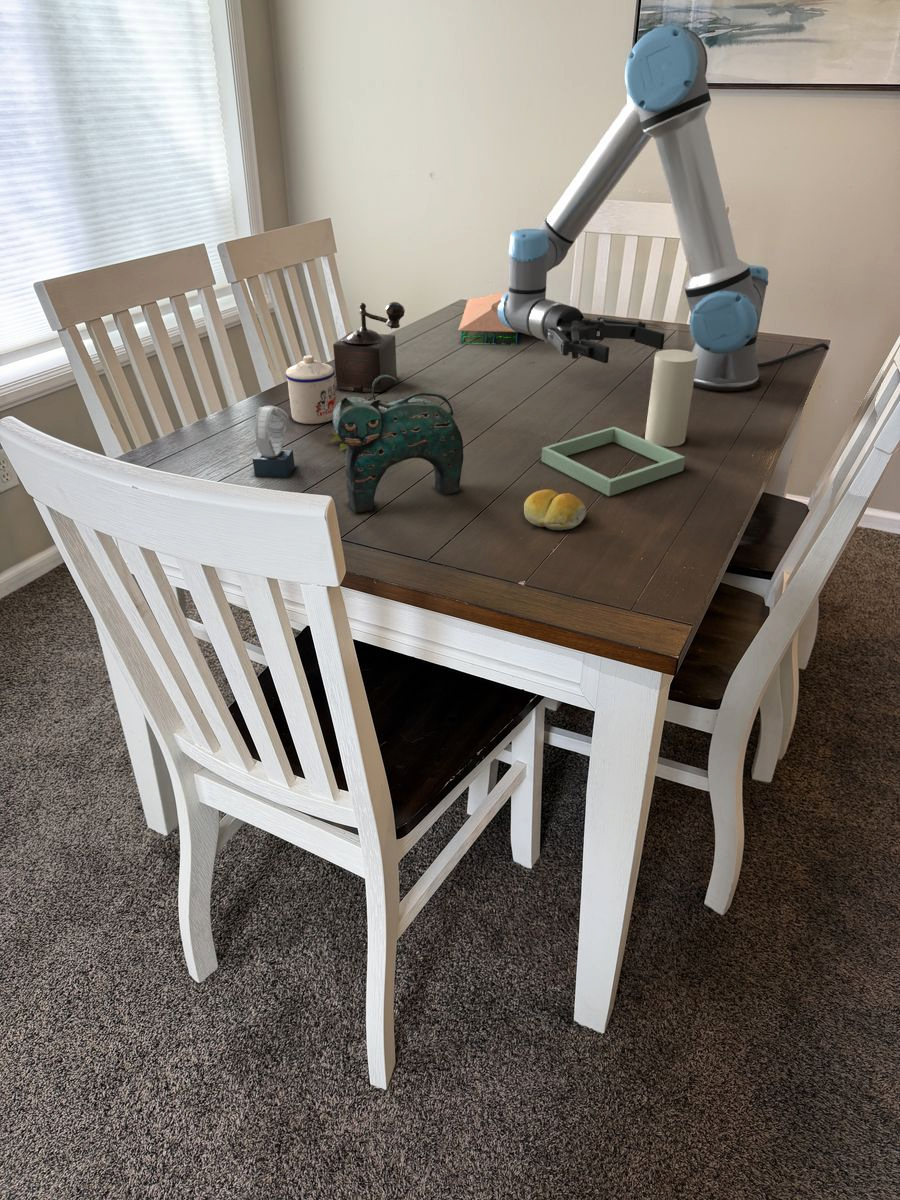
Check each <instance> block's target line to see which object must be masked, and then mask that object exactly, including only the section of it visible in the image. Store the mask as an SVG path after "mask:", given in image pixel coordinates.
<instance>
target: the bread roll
mask: <svg viewBox="0 0 900 1200" xmlns="http://www.w3.org/2000/svg"><path fill="white" fill-rule="evenodd" d="M523 512H524V513H523V514H524V517H525V519H526V520H527V522H529V523H530V524H532V525H534V526H536V527H539V528H544V527H545V528H546V529H548V530H552V531H563V530H564V531H565V530H571V529H574V528H576V527H577V526H579V525H580V524H581V523H582V522H583V520H584V519H585V517H586V516H587V515H586V514H587V508H586V506H585V504H584V502H583V501H582V499H580V498H579V497H577V496H576V495H575V494H572V493H569V492H567V493H566V492H565V493H564V492H563V493H561V494H560V493H558V492H557V491H555V490H553V489H541V490H537V491H535V492H533V493H531V494H530V495H529V496H527V498H526V499H525V501H524V504H523Z"/></svg>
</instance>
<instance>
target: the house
mask: <svg viewBox="0 0 900 1200" xmlns="http://www.w3.org/2000/svg"><path fill="white" fill-rule="evenodd" d="M507 292H508V291H505V292H499V293H493V294H489V295H484V296H480V297H474V298H469V299H467V301H466V305H465V308H464V311H463V314H462V317H461V320H460V324H459V327H458V330H457V332H461V344H464V340H465V338H466V334H467V332H471V339H472V342H471V343H470V342H466V344H469V345H470V344H473V345H475V344H476V345H477V344H478V345H481V344H482V345H489V342H488V343H487V339H488V338H492V345H495V343H494V342H495V338H498V335H496V333H503V336H502V335H500V336H499V339H501V338H503V341H502V342H503V343H502V345H505V343H504V341H505V338H506V339H511V338H512V339H515V342H513V343H512V345H517V343H518V334H519V332H517V331H514V330H513V329H511V328H509V327H507V326H505V325H504V324H503V323H502V322H501V321H500V319H499V316H498V305H499V304H500V301H501V298H502V297H503V295H504V294H505V293H507ZM551 300H552V299H551ZM552 301H554V299H553V300H552ZM474 332H476V335H474ZM479 332H484V335H479ZM488 333H492V335H488ZM506 333H510V336H505V335H506ZM512 333H513V335H515V336H512ZM467 338H470V335H467ZM474 338H484V340H482V342H474ZM483 341H484V342H483Z"/></svg>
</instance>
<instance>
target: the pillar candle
mask: <svg viewBox="0 0 900 1200" xmlns="http://www.w3.org/2000/svg"><path fill="white" fill-rule="evenodd" d="M697 358H698V356H697V355H696V354H695V353H692V351H689V350H683V349H661V350H660V351H659V350H658V351H657V352H655V354H654V360H653V361H654V362H653V368H652V369H653V370H652V377H651V385H650V393H649V402H648V409H647V418H646V424H645V425H646V426H645V435H644V439H645V440H647V441H650V442H652V443H654V444H657V445H659V446H661V447H664V448H667V447H671V448H672V447H679V446H681V445H683V444H684V443H685V441H686V437H687V430H688V424H689V417H690V409H691V403H692V397H693V390H694V386H693V385H694V378H695V371H696V365H697Z"/></svg>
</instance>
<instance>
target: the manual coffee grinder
mask: <svg viewBox="0 0 900 1200" xmlns="http://www.w3.org/2000/svg"><path fill="white" fill-rule="evenodd" d="M366 308H367V304H366V303H364V302H361V303H360V304H359V309H360V310H359V312H358V313H359V314H360V321H361V327H360V329H357V330H355V331H351V332H349V333H347V334H346V335H344V336H343V337H342V338H340V339H338V340H337V341H336V342H334V343H333V345H332V347H333V359H334V369H335V370H334V372H335V380H336V382H335V383H336V390H339V391H348V392H349V391H350V392H360V393H372V385H373V382H374V380H375V379H376V378H378V377H379V376H382V375H389V376H392V377H393V378H395V379H396V380H397V378H398V371H397V349H396V345H397V344H396V335H395V334H385V333H378V332H377V331H375V330H372V329H369V328H367V318H369V319H371V320H374V321H378V322H382V323H385V324H386V325H385V326H386V327H389V328H390V329H391V330H393V329H399V328H400V327H401V325H400V320H401V319H402V318H403V317H404V316H405V312H406V309H405V307H404V305H402V304H401V303H399V302H397V301H391V302H390V303H389V304H387V305H386V306H385V313H386V315H387V317H388V318H386V317H383V316H379V315H375V314H372V313H370V312H367V309H366ZM394 383H395V382H394V381H393V380H392V379H390V378H381V379H379V380H378V381H377V382H376V383H375V385H374V393H383V392H384V391H386V390H388V389H389V388H390V387H391V386H392V385H393V384H394Z"/></svg>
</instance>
